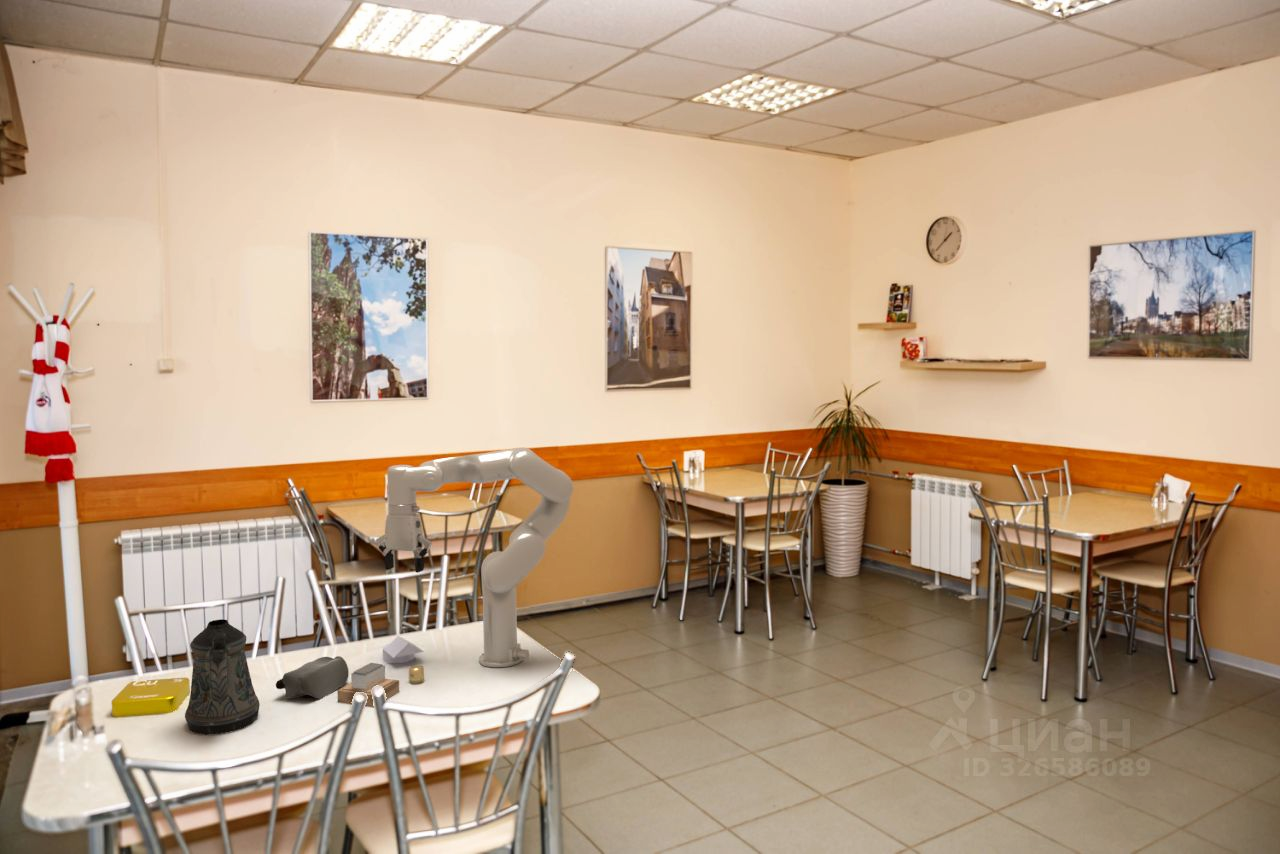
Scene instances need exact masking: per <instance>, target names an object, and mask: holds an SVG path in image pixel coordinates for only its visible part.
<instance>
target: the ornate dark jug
mask: <svg viewBox="0 0 1280 854" xmlns="http://www.w3.org/2000/svg"><path fill="white" fill-rule="evenodd" d="M246 642H247V636H246V634H245V633H244V632H243V631H241V630H240V629H239V628H236V627H235V626H233V625H232V624H230V623H229V621H228V619H215V620H210V621H208V623H207V626H206V628H204V629H203V630H202V631H201V632H200V633H198V634H197V635H196V636H195V637H194V638H193V639H192V640H191V642H190V645H189V646H190V650H191V652H192V654H193V663H192V673H191V685H190V694H189V701H188V704H187V709H186V710H185V713H184V719H185V722H186V723H187V726H188V727H187V728H188V731H189V730H190V731H189V732H191V731H192V733H193V732H194V733H193V734H196V733H197V735H203V734H204V735H205V736H207V735H208V736H209V734H210V736H212V735H222V734H221V733H223V734H226V733H225V732H228V733H231V732H230V731H233V732H236V731H238V729H239V730H242V729H244V727H245V728H247V727H248V725H249V726H251V725H252V724H254V723H255V722H256V721H257V720H258V716H259V711H260V706H261V705H260V699H259V697H258V696H257V694H256V692H255V689H254V686H253V682H252V677H251V674H250V669H249V665H248V661H247V660H248V659H247V655H246V651H245V646H246ZM256 719H257V720H256ZM255 720H256V721H255ZM254 721H255V722H254ZM253 722H254V723H253ZM246 726H247V727H246ZM235 730H236V731H235ZM211 734H212V735H211Z"/></svg>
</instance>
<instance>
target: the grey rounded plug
mask: <svg viewBox="0 0 1280 854" xmlns="http://www.w3.org/2000/svg"><path fill="white" fill-rule="evenodd" d="M349 675H350V674H349V668H348V664H347V662H346V660H345V659H344V658H343V657H342V656H338V655H337V656H335V657H334V658H332V657H330V656H321V657H318V658H316V659H314V660H312V661H308V662H306V663H304V664H303V665H301V666H300V667H298V668H297V669H293V670H291V671H288V672H286V673H284V674H283V676H282V678H280V679H279V680H277V681H276V683H275V688H276V689H277V690H283V689H284V690H285V697H286V698H288V699H295V698H299V697H301V696H302V697H304V696H306V695H308V696H311V697H313V698H316V699H324V698H325V696H326V697H328V696H330V695H331V694H333V692H335V691H336V690H339V689H341V688H342V687H344V685H346V683H347V681H348V679H349V677H350V676H349ZM323 697H324V698H323Z"/></svg>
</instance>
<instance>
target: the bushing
mask: <svg viewBox="0 0 1280 854" xmlns="http://www.w3.org/2000/svg"><path fill="white" fill-rule="evenodd" d="M424 682H425V667H424V665H422V664H415V665H410V666H409V667H408V683H409V684H410V685H414V686H416V685H420V684H421V685H422V684H423V683H424Z"/></svg>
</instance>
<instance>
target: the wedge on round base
mask: <svg viewBox="0 0 1280 854" xmlns="http://www.w3.org/2000/svg"><path fill="white" fill-rule="evenodd" d="M424 651H425V650H422V648H420V647H418V646H417V645H416V644H414V643H413V642H411V641H409V640H407V639H405V638H404V637H401V636H400V635H397V636H396V637H394V639H393V640H392V641H391V642H390V643H387V644H385V645H384V646H383V647H382V661H383V662H385V663H388V664H389V663H390V664H401V663H406V662H409V661H412V660H414V659H415V656H416V654H419V653H423V652H424Z"/></svg>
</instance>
